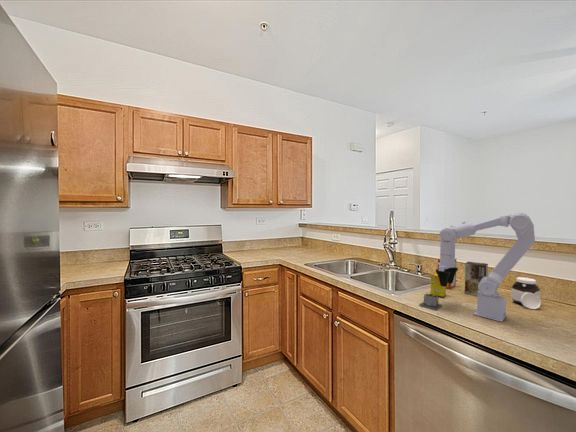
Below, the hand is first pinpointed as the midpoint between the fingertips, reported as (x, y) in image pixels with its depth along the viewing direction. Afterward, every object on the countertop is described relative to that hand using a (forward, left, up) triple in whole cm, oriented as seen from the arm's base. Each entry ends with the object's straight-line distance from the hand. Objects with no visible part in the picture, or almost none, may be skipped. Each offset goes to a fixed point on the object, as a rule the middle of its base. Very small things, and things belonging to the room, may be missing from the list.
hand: (446, 284), depth 121 cm
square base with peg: (+4, +6, -10) cm, 12 cm away
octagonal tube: (+4, +5, -9) cm, 11 cm away
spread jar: (-24, -30, -10) cm, 40 cm away
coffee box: (-4, -30, -10) cm, 32 cm away
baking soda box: (+11, -33, -10) cm, 36 cm away
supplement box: (+8, -13, -10) cm, 18 cm away
